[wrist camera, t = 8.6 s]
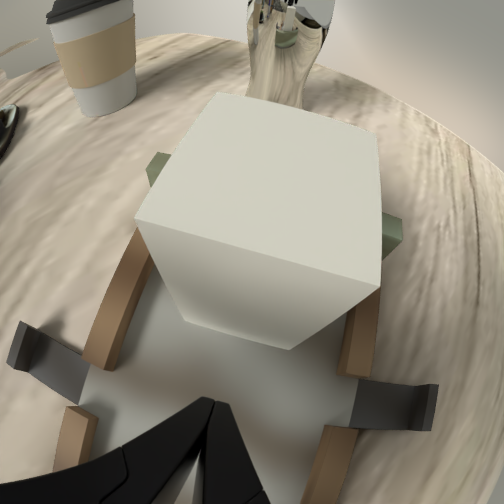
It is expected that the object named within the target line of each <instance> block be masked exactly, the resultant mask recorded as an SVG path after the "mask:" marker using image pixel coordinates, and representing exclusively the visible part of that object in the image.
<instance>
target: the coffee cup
mask: <svg viewBox="0 0 504 504" xmlns="http://www.w3.org/2000/svg"><path fill="white" fill-rule="evenodd" d="M46 18H48V19H47V23H46V24H49V26H50V29H51V32H52V35H53V39H54V46H55V49H56V52H57V55H58V57H59V60H60V63H61V66H62V68H63V71H64V73H65V76H66V78H67V81H68V84H69V86H70V87H71V88H72V90H73V92H74V95H75V97H76V100H77V102H78V104H79V107H80V109H81V111H82V113H83V115H85V116H87V117H99V116H104V115H107V114H110V113H113V112H115V111H117V110H119V109H121V108H123V107H125V106H126V105H128V104H129V103H130V102H131V101H132V100H133V99H134V98H135V97H136V94H137V87H136V74H135V63H136V47H135V14H134V13H133V0H56V1H55V2H54V5H53V8H52V11H50V12H49V13H47V15H46Z"/></svg>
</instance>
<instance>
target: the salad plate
mask: <svg viewBox="0 0 504 504" xmlns="http://www.w3.org/2000/svg"><path fill="white" fill-rule="evenodd" d="M18 114H19V108H18V107H17V106H16V105H14V104H11V105H7V106H5V107H2V108H1V109H0V159H1V158H2V156H3V155H4V153H5V152H6V150H7V148H8V146H9V144H10V142H11V139H12V137H13V134H14V131H15V128H16V125H17V122H18Z"/></svg>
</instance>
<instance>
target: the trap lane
mask: <svg viewBox="0 0 504 504" xmlns="http://www.w3.org/2000/svg"><path fill="white" fill-rule="evenodd" d="M170 157H171V154H165V153H160V152H157V153H156V155H155V156H154V158H153V159H152V161H151V162H150V164H149V165H148V167H147V168H146V172H147V176H148V179H149V183H150V186H151V187H152V186H153V184H154V182H155V181H156V179H157V177H158V176H159V174H160V172H161V171H162V169H163V168H164V166H165V165H166V163H167V161H168V160H169V158H170ZM402 240H403V237H402V219H399V218H397V217H394V216H391V215H389V214H386V213H383V212H382V257H381V273H382V260H383V259H384V258H385V257H386V256H387V255H388V254H389V253H390V252H391V251H392V250H393V249H394V248H395V247H396V246H398V245H399V243H400V242H401V241H402ZM380 290H381V281H380V287H379V288H378V289H376V290H375V291H374V292H372V293H371V294H370V295H368V296H367V297H366V298H365V299H363V300H362V301H361V302H359V303H358V304H356V305H355V306H354V307H352V308H351V309H350V310H348V311H347V312H345V313H344V314H343V315H341V316H340V317H338V318H337V319H336V320H334V321H333V322H331V323H330V324H328V325H327V326H325V327H324V328H323V329H321V330H320V331H318V332H317V333H315V334H314V335H312V336H311V337H309V338H307V339H306V340H304V341H303V342H301V343H300V344H298V345H297V346H295V347H293V348H292V349H290V350H286V349H282V348H278V347H274V346H270V345H266V344H262V343H258V342H255V341H251V340H247V339H243V338H240V337H236V336H233V335H229V334H226V333H223V332H219V331H216V330H213V329H209V328H206V327H203V326H200V325H197V324H193V323H190V322H187V321H185V320H184V319H183V317H182V315H181V313H180V311H179V309H178V308H177V306H176V304H175V302H174V300H173V298H172V296H171V294H170V293H169V291H168V289H167V287H166V285H165V283H164V281H163V279H162V277H161V275H160V273H159V271H158V269H157V267H156V265H155V263H154V261H153V259H152V257H151V254H150V252H149V250H148V248H147V246H146V244H145V242H144V240H143V237H142V235H141V233H140V231H139V228H138V227H137V229H136V230H135V232H134V234H133V236H132V238H131V240H130V242H129V244H128V246H127V248H126V250H125V252H124V254H123V256H122V259H121V261H120V263H119V265H118V267H117V269H116V271H115V273H114V276H113V278H112V280H111V282H110V285H109V287H108V289H107V291H106V294H105V296H104V299H103V301H102V303H101V306H100V308H99V311H98V313H97V316H96V318H95V321H94V323H93V326H92V328H91V331H90V334H89V336H88V339H87V342H86V345H85V348H84V350H83V353H82V355H80V354H78V353H76V352H75V351H73V350H71V349H69V348H67V347H66V346H64V345H62V344H60V343H59V342H57V341H55V340H54V339H52V338H50V337H49V336H47V335H46V334H44V333H42V332H41V331H39V330H38V329H36V328H34V327H32V326H30V325H28V324H26V323H24V322H22V321H20V322H19V324H18V327H17V330H16V333H15V336H14V339H13V342H12V345H11V348H10V352H9V355H8V358H7V362H6V363H7V364H8V365H10V366H11V367H12V368H13V369H16V370H20V371H25V372H28V373H30V374H31V375H32V376H34V377H35V378H37V379H38V380H39V381H41V382H42V383H44V384H45V385H47V386H48V387H50V388H51V389H53V390H54V391H56V392H57V393H59V394H60V395H62V396H63V397H65V398H67V399H68V400H70V401H72V402H73V403H75V404H77V405H78V406H66V410H65V413H64V417H63V422H62V426H61V430H60V435H59V439H58V444H57V449H56V455H55V460H54V466H53V472H57V471H60V470H64V469H67V468H70V467H74V466H76V465H79V464H82V463H85V462H88V461H90V460H93V459H95V458H97V457H99V456H101V455H104V454H106V453H108V452H110V451H112V450H113V449H115V448H117V447H119V446H120V447H121V446H122V445H123V444H125V443H127V442H129V441H130V440H132V439H134V438H136V437H137V436H139V435H141V434H142V433H144V432H146V431H148V430H149V429H151V428H153V427H154V426H156V425H157V424H159V423H161V422H162V421H164V420H166V419H167V418H169V417H170V416H172V415H173V414H175V413H177V412H178V411H180V410H181V409H183V408H184V407H186V406H187V405H189V404H190V403H192V402H193V401H195V400H196V399H198V398H199V397H201V396H205V397H209V398H212V399H214V400H215V401H217V400H219V401H222V402H226V403H229V404H230V406H231V409H232V412H233V415H234V417H235V420H236V423H237V425H238V428H239V430H240V433H241V436H242V438H243V441H244V443H245V446H246V448H247V451H248V453H249V456H250V458H251V460H252V463H253V465H254V468H255V470H256V472H257V475H258V477H259V479H260V481H261V484H262V486H263V488H264V489H263V490H265V492H266V494H267V496H268V498H269V501H270V503H271V504H336V502H337V499H338V496H339V494H340V491H341V488H342V485H343V482H344V479H345V476H346V473H347V470H348V467H349V464H350V460H351V457H352V453H353V450H354V446H355V443H356V439H357V435H358V431H359V430H358V429H354V428H366V429H385V430H413V431H431V428H432V424H433V418H434V413H435V407H436V401H437V395H438V387H439V385H437V384H427V385H420V386H409V385H399V384H391V383H383V382H375V381H368V380H362V379H360V378H366V377H370V374H371V368H372V362H373V355H374V348H375V341H376V333H377V324H378V314H379V303H380ZM349 427H353V428H349ZM200 451H201V450H200ZM199 454H200V453H199ZM198 458H199V456H198ZM197 463H198V459H197V461H196V463H195V465H194V467H193V469H192V471H191V473H190V475H189V477H188V479H187V480H186V482H185V484H184V486H183V488H182V490H181V492H180V494H179V495H178V497H177V499H176V501H175V503H174V504H192V499H193V491H194V484H195V477H196V469H197Z"/></svg>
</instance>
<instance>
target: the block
mask: <svg viewBox="0 0 504 504" xmlns="http://www.w3.org/2000/svg"><path fill="white" fill-rule="evenodd" d="M134 219H135V222H136V224H137V226H138V228H139V231H140V233H141V235H142V237H143V240H144V242H145V244H146V246H147V248H148V250H149V252H150V254H151V257H152V259H153V261H154V263H155V265H156V267H157V269H158V271H159V273H160V275H161V277H162V279H163V281H164V283H165V285H166V287H167V289H168V291H169V293H170V294H171V296H172V298H173V300H174V302H175V304H176V306H177V308H178V309H179V311H180V313H181V315H182V317H183V319H184V320H185V321H187V322H190V323H193V324H197V325H200V326H203V327H206V328H209V329H213V330H216V331H219V332H223V333H226V334H229V335H233V336H236V337H240V338H243V339H247V340H251V341H255V342H258V343H262V344H266V345H270V346H274V347H278V348H282V349H286V350H290V349H292V348H293V347H295V346H297V345H298V344H300V343H301V342H303V341H304V340H306V339H307V338H309V337H311V336H312V335H314V334H315V333H317V332H318V331H320V330H321V329H323V328H324V327H325V326H327V325H328V324H330V323H331V322H333V321H334V320H336V319H337V318H338V317H340V316H341V315H343V314H344V313H345V312H347V311H348V310H350V309H351V308H352V307H354V306H355V305H356V304H358V303H359V302H361V301H362V300H363V299H365V298H366V297H367V296H368V295H370V294H371V293H372V292H374V291H375V290H376V289H378V288H379V287H380V281H381V257H382V208H381V184H380V169H379V157H378V147H377V137H376V134H375V133H372V132H370V131H367V130H364V129H362V128H359V127H356V126H353V125H350V124H348V123H345V122H342V121H339V120H336V119H332V118H329V117H326V116H323V115H319V114H316V113H313V112H309V111H306V110H302V109H298V108H294V107H291V106H287V105H283V104H278V103H274V102H270V101H265V100H261V99H256V98H251V97H246V96H241V95H235V94H229V93H223V92H216V93H215V95H214V96H213V97H212V99H211V100H210V101H209V103H208V104H207V105H206V107H205V108H204V109H203V111H202V112H201V113H200V115H199V116H198V117H197V119H196V120H195V122H194V123H193V124H192V126H191V127H190V129H189V130H188V131H187V133H186V134H185V136H184V137H183V139H182V140H181V142H180V143H179V145H178V146H177V148H176V149H175V151H174V152H173V154H172V155H171V157H170V158H169V160H168V161H167V163H166V165H165V166H164V168H163V169H162V171H161V172H160V174H159V176H158V177H157V179H156V181H155V182H154V184H153V186H152V187H151V189H150V191H149V192H148V194H147V196H146V197H145V199H144V201H143V203H142V204H141V206H140V208H139V210H138V212H137V213H136V215H135V217H134Z"/></svg>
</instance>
